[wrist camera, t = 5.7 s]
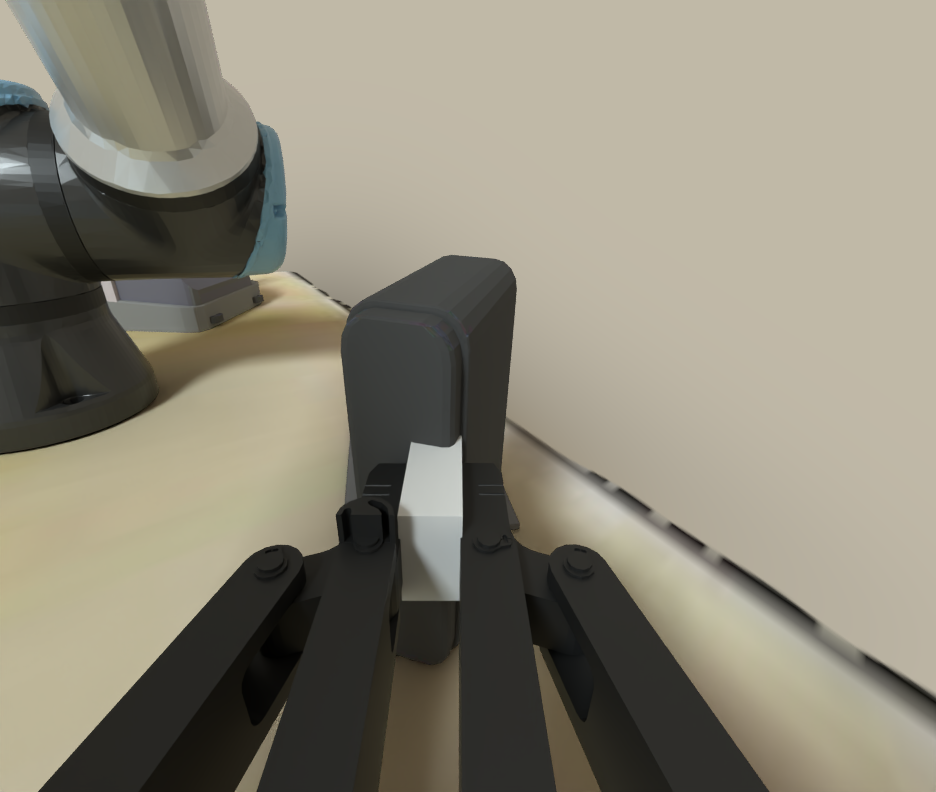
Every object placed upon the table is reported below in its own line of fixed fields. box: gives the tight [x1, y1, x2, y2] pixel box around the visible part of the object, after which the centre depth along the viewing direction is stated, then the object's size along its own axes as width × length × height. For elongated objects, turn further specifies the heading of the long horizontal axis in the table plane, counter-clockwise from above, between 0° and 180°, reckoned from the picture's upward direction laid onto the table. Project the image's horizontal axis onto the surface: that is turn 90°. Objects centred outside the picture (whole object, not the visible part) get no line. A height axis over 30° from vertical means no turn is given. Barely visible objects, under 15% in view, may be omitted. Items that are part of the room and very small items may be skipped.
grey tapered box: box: [101, 275, 264, 333], centre depth 64 cm, size 21×21×15 cm
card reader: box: [341, 255, 517, 665], centre depth 19 cm, size 9×4×15 cm, turn 164°
